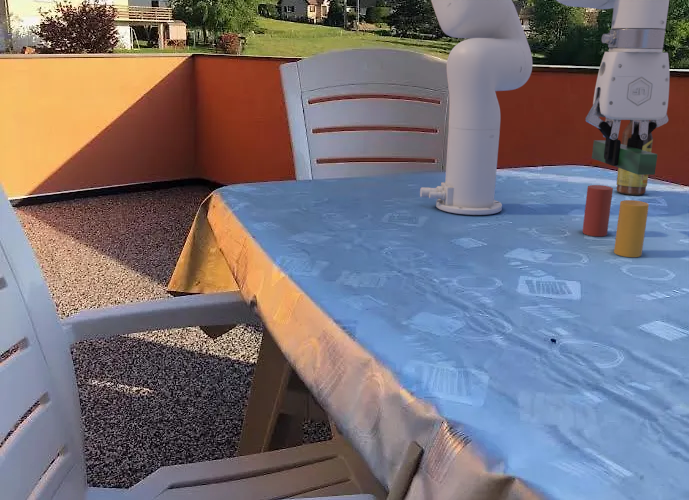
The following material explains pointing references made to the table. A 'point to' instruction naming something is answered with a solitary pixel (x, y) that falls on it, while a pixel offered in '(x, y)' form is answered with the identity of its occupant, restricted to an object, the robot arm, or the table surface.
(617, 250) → the yellow rod
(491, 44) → the robot arm
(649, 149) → the sauce bottle
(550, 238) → the table surface
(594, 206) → the red rod
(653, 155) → the green bar
